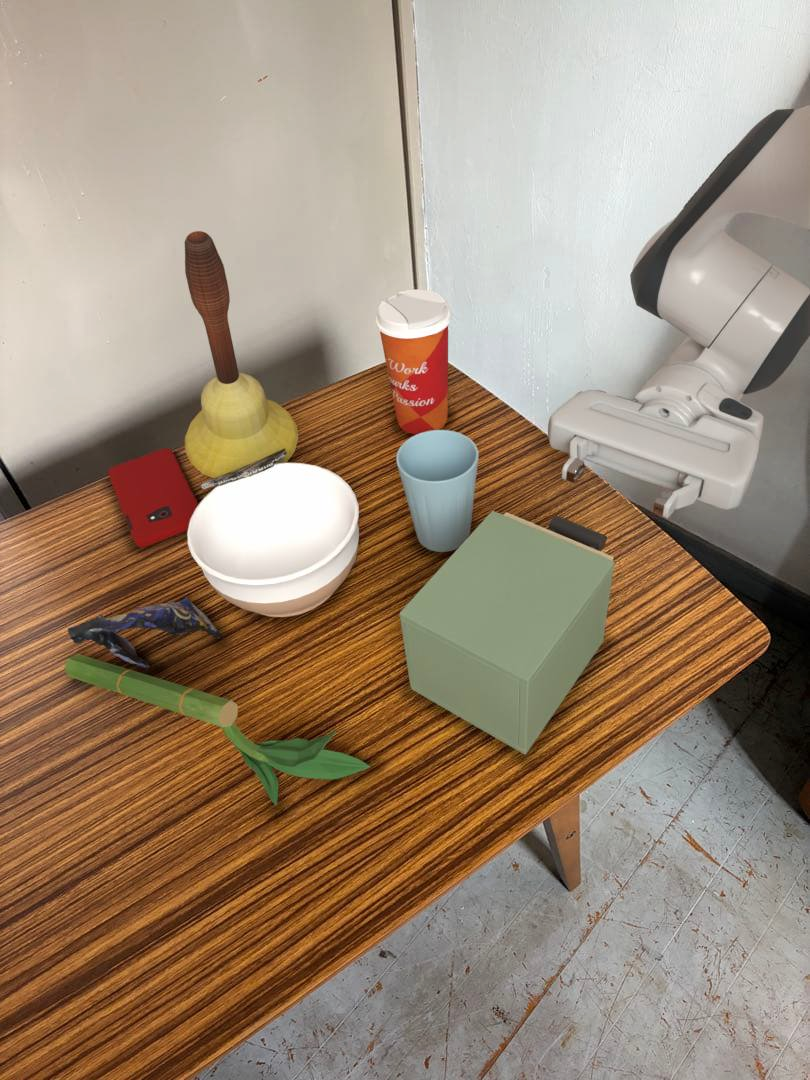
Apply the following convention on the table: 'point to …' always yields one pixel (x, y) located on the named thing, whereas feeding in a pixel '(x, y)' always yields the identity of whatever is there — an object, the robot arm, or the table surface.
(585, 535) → the beige drawer
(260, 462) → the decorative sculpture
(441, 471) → the cup
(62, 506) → the table surface
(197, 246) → the handbell
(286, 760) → the decorative plant
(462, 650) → the cabinet
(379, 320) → the coffee cup
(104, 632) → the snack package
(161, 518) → the cell phone
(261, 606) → the bowl
